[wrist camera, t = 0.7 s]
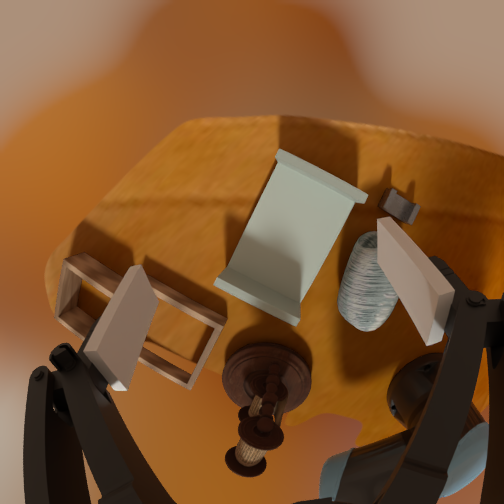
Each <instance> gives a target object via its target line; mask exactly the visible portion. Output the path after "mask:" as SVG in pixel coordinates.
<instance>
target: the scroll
mask: <svg viewBox="0 0 504 504" xmlns="http://www.w3.org/2000/svg"><path fill="white" fill-rule="evenodd" d="M222 382H223V386H224V389H225V391H226V393H227V395H228V396H229V397H230V399H231V400H232V401H233V402H234V403H235V404H237V405H238V406H240V407H241V409H240V410H239V413H238V417H239V420H240V421H241V422H240V424H239V427H238V433H239V436H240V437H241V438H240V440H239V442H238V444H237V446H235V447H232V448H231V449H229V450H228V451H227V453H226V455H225V462H226V464H227V466H228V468H229V469H230V470H231V471H232V472H234V473H236V474H237V475H240V476H243V477H255V476H258V475H260V474H262V473H263V472H264V470H265V469H266V460H265V458H264V455H265V454H266V452H267V451H268V450H273V449H276V448H277V447H279V446H280V445H281V444H282V442H283V439H284V434H283V432H282V430H281V428H280V425H281V420H282V415H283V413H286V412H289V411H291V410H293V409H295V408H297V407H298V406H299V405H301V404H302V403H303V402H304V400H305V399H306V398H307V396H308V394H309V392H310V389H311V373H310V369H309V367H308V365H307V363H306V362H305V360H304V359H303V358H302V357H301V356H300V355H299V354H298V353H296V352H295V351H293V350H292V349H290V348H288V347H285V346H282V345H279V344H274V343H255V344H251V345H250V344H248V345H246V346H245V347H243V348H241V349H239V350H237V351H236V352H235V353H234V354H232V355H231V357H230V358H229V359H228V361H227V362H226V365H225V367H224V370H223V374H222ZM272 415H274V417H275V422H274V421H273V416H272Z"/></svg>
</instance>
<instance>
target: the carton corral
mask: <svg viewBox="0 0 504 504" xmlns="http://www.w3.org/2000/svg"><path fill="white" fill-rule="evenodd" d="M82 279H84V280H85V281H86V282H88V283H89V284H91V285H92V286H94V287H95V288H96V289H98V290H99V291H101V292H102V293H104V294H105V295H107V296H108V297H110V298H112V296H113V295H114V293H115V291H116V290H117V288H118V286H119V284H120V283H121V281H122V279H123V277H122V276H120V275H118V274H117V273H115V272H114V271H112V270H111V269H109V268H107V267H106V266H104V265H103V264H101V263H100V262H98V261H97V260H95V259H94V258H92V257H91V256H89V255H88V254H86V253H85V252H83V253H80V254H77V255H74V256H71V257H68V258H65V259H63V264H62V270H61V275H60V281H59V287H58V293H57V300H56V308H55V317H54V318H55V319H56V320H57V321H59V322H60V323H61V324H62V325H63V326H65V327H66V328H67V329H69V330H70V331H71V332H72V333H74V334H75V335H76V336H77V337H79V338H80V339H81V340H83V341H84V339H85V338H86V336H87V334H88V332H89V330H90V328H91V326H92V324H93V323H94V322H95V321H96V320H95V319H93V318H92V317H90V316H89V315H88V314H86V313H85V312H84V311H82V310H81V309H80V308H78V307H77V302H78V297H79V292H80V287H81V282H82Z"/></svg>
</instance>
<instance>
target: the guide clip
mask: <svg viewBox="0 0 504 504" xmlns="http://www.w3.org/2000/svg"><path fill="white" fill-rule="evenodd" d="M396 193H397V191H396V190H395V189H393V188H386V190H385V192H384V194H383V196H382V198H381V200H380V202H379V204H378V207H379V208H381V209H383V210H384V211H386V212H388V213H389V214H391V215H393V216H394V217H396V218H397V219H399V220H401V221H402V222H404V223H406V224H410V225H412V224H413V222H414V219H415V217H416V215H417V213H418V211H419V209H420V207H421V206H419V205H418V204H416V203H410V202H409V201H407V200H406V199H404V198H403V197H401V196H399V195H398V194H396Z"/></svg>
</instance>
